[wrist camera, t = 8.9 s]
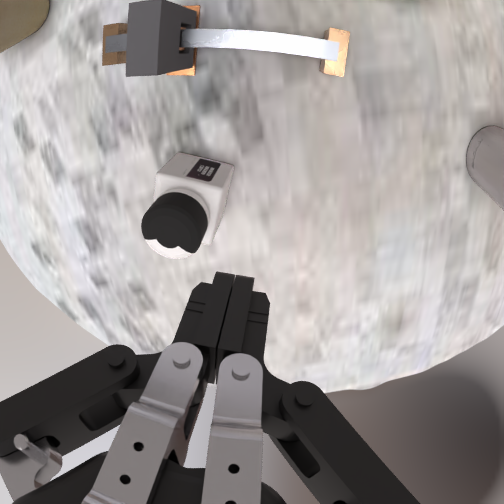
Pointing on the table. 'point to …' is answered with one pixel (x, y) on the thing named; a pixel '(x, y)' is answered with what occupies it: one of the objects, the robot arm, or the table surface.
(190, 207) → the container
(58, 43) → the table surface
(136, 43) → the collar
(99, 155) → the table surface
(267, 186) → the table surface
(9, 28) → the plant pot
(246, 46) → the rail
